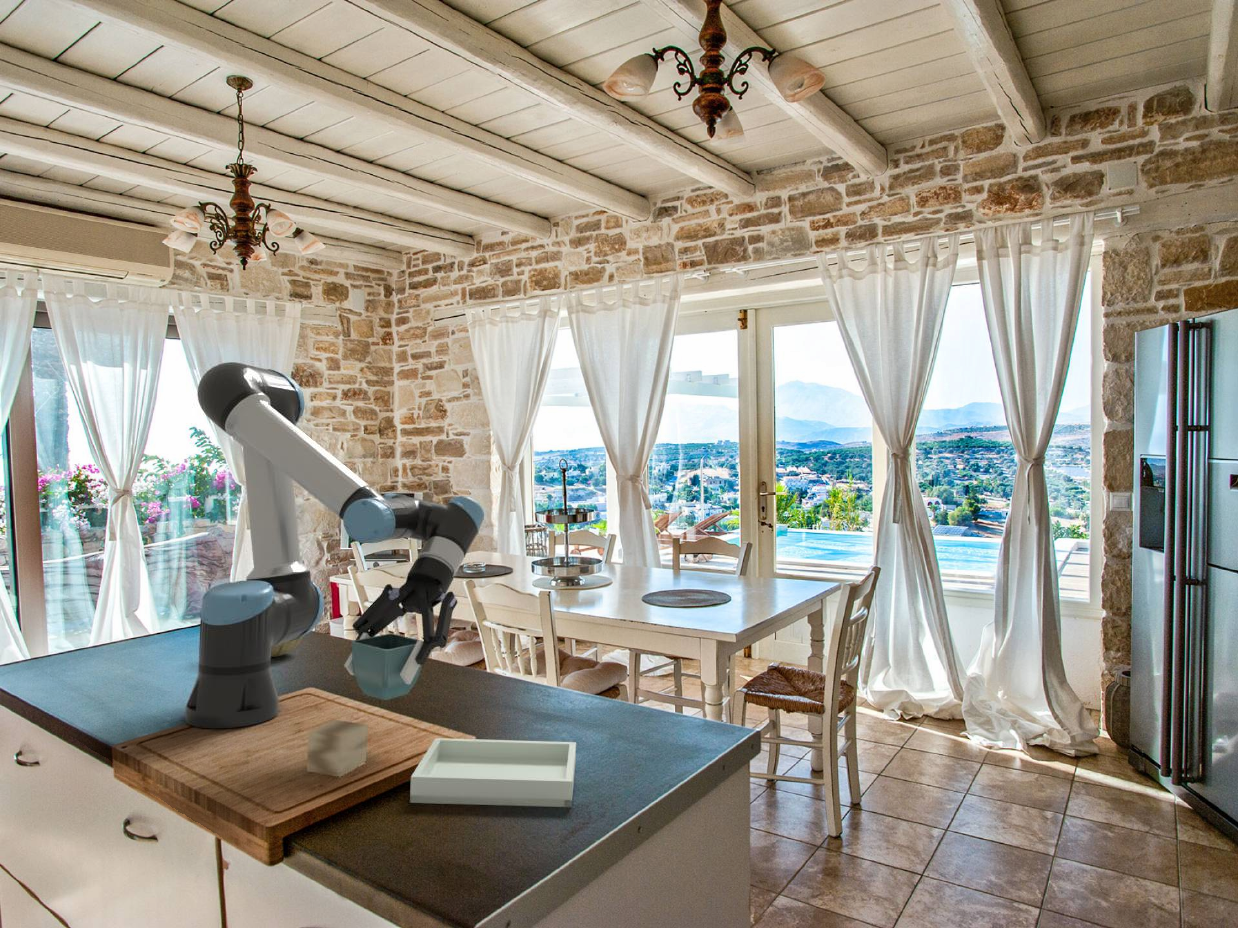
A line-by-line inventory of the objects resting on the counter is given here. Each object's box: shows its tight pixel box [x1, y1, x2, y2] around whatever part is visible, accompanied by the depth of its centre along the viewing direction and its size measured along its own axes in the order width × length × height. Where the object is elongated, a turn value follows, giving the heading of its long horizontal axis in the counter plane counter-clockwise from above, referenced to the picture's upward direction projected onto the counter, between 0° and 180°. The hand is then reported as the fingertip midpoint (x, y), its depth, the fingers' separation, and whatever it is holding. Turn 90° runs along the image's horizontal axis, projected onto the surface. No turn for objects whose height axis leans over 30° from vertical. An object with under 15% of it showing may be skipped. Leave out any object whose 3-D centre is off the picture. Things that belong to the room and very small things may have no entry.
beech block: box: [306, 719, 369, 778], centre depth 120 cm, size 6×6×6 cm
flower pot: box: [350, 633, 424, 701], centre depth 131 cm, size 9×9×9 cm
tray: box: [409, 737, 577, 808], centre depth 116 cm, size 22×16×4 cm
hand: (376, 674), depth 128 cm, fingers closed on flower pot, 10 cm apart
